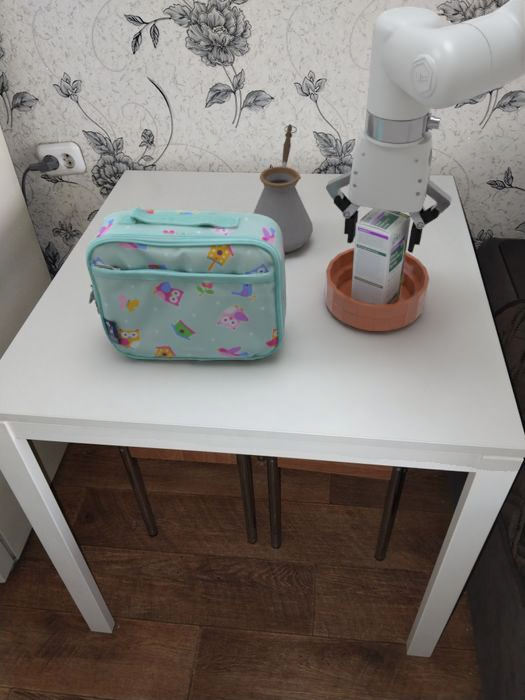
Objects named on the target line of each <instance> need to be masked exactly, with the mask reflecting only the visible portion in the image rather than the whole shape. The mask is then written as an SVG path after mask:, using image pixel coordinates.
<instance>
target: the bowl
mask: <svg viewBox="0 0 525 700" xmlns="http://www.w3.org/2000/svg"><path fill="white" fill-rule="evenodd" d="M353 260H354V247H352V248H349V249H346V250H344V251H342V252H340V253H338V254H337V255H335V257H333V258H332V259H331V260H330V261H329V263H328V265H327V268H326V271H325V284H324V285H325V286H324V288H325V289H324V299H325V305H326V307H327V309H328V310H329V312H330V313H331V314H332V315H333V316H334V317H335V318H337V319H338V320H339V321H340V322H341V323H343V324H345V325H348V326H350V327H353V328H355V329H358V330H362V331H363V330H364V331H369V332H390V331H393V330H398V329H402V328H404V327H406V326H408V325H410V324H412V323H414V322H415V321H416V320H417V319H418V318H419V317H420V316H421V314H422V313H423V310H424V306H425V302H426V296H427V291H428V286H429V283H430V276H429V273H428V270H427V268H426V267H425V265H424V264H423V263H422V262H421V261H420V260H419V259H418V258H416V257H415V256H413V255H412V254H410V252H408V251H406V255H405V262H404V269H403V276H402V283H401V290H400V296H398V298H397V299H396V300H395V301H394V302H393V303H392V304H370V303H365V302H360V301H357V300H355V299H352V298H351V290H352V276H353Z"/></svg>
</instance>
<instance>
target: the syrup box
mask: <svg viewBox="0 0 525 700" xmlns="http://www.w3.org/2000/svg"><path fill="white" fill-rule="evenodd" d="M411 220H412V218H411V216H410V215H409V214H407V213H405V212H398V211H390V210H383V209H376V208H372V210H370V211H369V212H367V213H366V214H365V215H364V216H362V217H361V218H360V220H359V219H358V221H357V223H356V232H355V237H354V246H353V248H354V260H353V276H352V290H351V298H352V299H355V300H357V301H360V302H365V303H370V304H392V303H393V302H394V301H395V300H396V299H397V298H398V296H400V290H401V283H402V276H403V269H404V262H405V255H406V252H407V249H408V241H409V240H408V239H409V233H410V227H411V226H410V225H411Z"/></svg>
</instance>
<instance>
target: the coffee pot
mask: <svg viewBox="0 0 525 700" xmlns="http://www.w3.org/2000/svg"><path fill="white" fill-rule="evenodd" d="M286 128H287V129H286ZM293 128H294V129H295V131H293ZM283 129H284V132H285V134H284V136H285V140H284V143H283V148H282V158H281V159H282V160H281V163H282V165H281V166H273V167H268V168H266V169H264V170H263V171H262V172H261V173H260V174H259V180H260V182H261V183H262V184H263V189H262V191H261V194H260V197H259V199H258V201H257V204H256V206H255V208H254V210H253V214H260V215H264V216H267V217H269V218H271V219H273V220H274V221H275V222H276V223H277V224H278V226H279V228H280V230H281V233H282V238H283V244H284V254H290V253H292V252H295V251H296V250H298V249H299V248H300V247H302V246H303V245H304V244H306V243H307V242H308V241H309V239H310V238H311V236H312V233H313V230H314V226H313V222H312V220H311V218H310V216H309V213H308V212H307V209H306V207H305V205H304V203H303V201H302V199H301V196H300V194H299V192H298V190H297V188H296V186H297V184H298V183H299V181H300V180H301V177H302V176H301V175H300V173H299V172H298V171H297V170H295V169H294V168H292V167H287V164H288V162H289V161H288V160H289V156H290V152H291V145H292V142H291V141H292V140H291V139H292V137H293V134H295V133H296V132H298V131H297V130H298V128H297V127H296V126H294V125H292V124H291V123H290V124H288V125H286V126H284V128H283Z"/></svg>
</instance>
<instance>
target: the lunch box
mask: <svg viewBox="0 0 525 700" xmlns="http://www.w3.org/2000/svg"><path fill="white" fill-rule="evenodd" d="M253 213H254V212H253ZM253 213H252V212H240V211H228V210H227V211H226V210H225V211H222V210H199V209H198V210H197V209H196V210H195V209H194V210H193V209H192V210H191V209H165V208H164V209H160V208H158V209H155V208H154V209H152V208H151V209H148V208H147V209H142V208H141V207H139V206H135V207H134V208H133V209H128V210H120V211H115V212H112V213H109V214H107V215H105V217H104V218H103V219H102V220H101V222H100V226H99V229H98V232H97V233H96V234H95V236H94V238H93V240H92V241H91V242H90V243H89V244H88V246H87V249H86V252H85V263H86V267H87V271H88V274H89V277H90V280H91V284H90V287H91V291H90V293H89V300H88V304H92V303H93V301H94V304H95V307H96V311H97V314H98V315H99V317H100V320H101V324H102V327H103V331H104V332H105V335H106V337H107V339H108V341H109V342H110V344H111V345H112V346H113V348H114V349H115V350H116V351H117V352H118V353H120V354H121V355H123V356H125V357H127V358H131V359H136V360H137V359H138V360H160V361H162V360H164V361H165V360H166V361H199V362H201V361H202V362H204V361H205V362H206V361H216V360H217V361H218V360H219V361H226V360H228V361H230V360H231V361H232V360H233V361H234V360H240V361H248V360H249V361H251V360H259V359H263V358H266V357H269V356H270V355H272V354H274V353H275V352H276V351H278V350H279V348H280V347H281V345H282V343H283V339H284V333H285V322H286V314H287V282H286V281H287V280H286V279H287V277H286V275H287V274H286V259H285V254H286V253H284V244H283V238H282V233H281V230H280V228H279V226H278V224H277V223H276V222H275V221H274V220H273V219H271V218H269V217H267V216H264V215H260V214H253Z"/></svg>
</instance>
